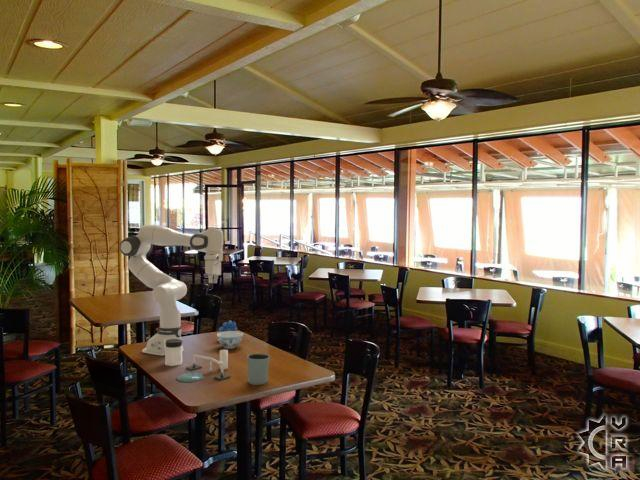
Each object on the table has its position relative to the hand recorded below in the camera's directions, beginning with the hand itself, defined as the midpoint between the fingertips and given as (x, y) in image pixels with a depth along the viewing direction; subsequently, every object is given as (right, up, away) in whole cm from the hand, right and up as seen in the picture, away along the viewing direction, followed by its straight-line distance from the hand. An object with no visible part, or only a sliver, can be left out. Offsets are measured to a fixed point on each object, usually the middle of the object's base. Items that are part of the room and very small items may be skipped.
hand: (212, 283), depth 270 cm
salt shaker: (+9, -41, -18) cm, 46 cm away
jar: (-18, -41, -11) cm, 46 cm away
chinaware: (+5, -39, +22) cm, 45 cm away
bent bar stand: (+3, -42, -26) cm, 49 cm away
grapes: (+1, -38, +40) cm, 55 cm away
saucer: (-3, -42, -34) cm, 54 cm away
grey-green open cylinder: (+29, -43, -38) cm, 64 cm away
